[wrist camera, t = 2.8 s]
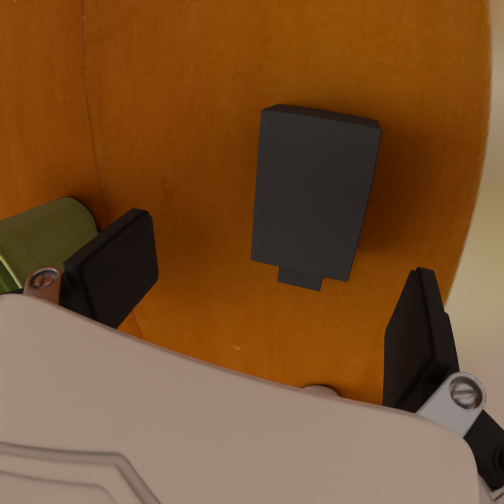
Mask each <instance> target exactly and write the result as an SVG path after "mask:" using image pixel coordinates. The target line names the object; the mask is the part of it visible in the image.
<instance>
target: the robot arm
mask: <svg viewBox="0 0 504 504" xmlns="http://www.w3.org/2000/svg"><path fill="white" fill-rule="evenodd" d="M63 267H64V270H65V271H64V272H63V273H61V271H60V270H59V268H57V267H53V266H47V267H43V268H40V269H38V270H36V271H34V272H33V273H31V274H30V275H29V277H28V278H27V280H26V282H25V286H24V288H21V289H17V290H13V291H9V292H5V293H1V294H0V504H504V430H503V429H502V428H501V427H500V426H499V425H498V424H497V423H496V422H495V421H494V420H493V419H492V418H491V417H490V416H489V415H488V414H487V413H486V412H485V411H484V410H483V408H484V406H485V403H486V392H485V389H484V387H483V385H482V383H481V382H480V381H479V380H478V379H477V378H476V377H474V376H473V375H471V374H469V373H466V372H460V370H459V364H458V358H457V352H456V348H455V342H454V337H453V333H452V328H451V324H450V319H449V316H448V314H447V313H446V312H444V308H443V304H442V299H441V295H440V291H439V288H438V284H437V280H436V276H435V273H434V271H433V270H430V269H425V268H421V267H417V269H416V270H411V271H410V273H409V276H408V278H407V281H406V283H405V286H404V288H403V291H402V293H401V296H400V298H399V301H398V303H397V305H396V308H395V310H394V312H393V315H392V317H391V319H390V321H389V324H388V326H387V328H386V331H385V337H384V383H383V402H382V406H381V405H377V404H372V403H366V402H361V401H356V400H351V399H346V398H342V397H337V396H333V395H328V394H324V393H319V392H315V391H310V390H306V389H302V388H298V387H293V386H289V385H285V384H281V383H277V382H274V381H270V380H266V379H262V378H259V377H255V376H252V375H248V374H244V373H241V372H238V371H234V370H231V369H227V368H224V367H221V366H218V365H214V364H211V363H208V362H205V361H202V360H199V359H196V358H193V357H190V356H187V355H184V354H181V353H178V352H175V351H172V350H169V349H166V348H164V347H161V346H158V345H155V344H153V343H150V342H147V341H144V340H142V339H139V338H137V337H134V336H131V335H129V334H126V333H124V332H121V331H119V330H116V329H117V328H118V327H119V325H120V324H121V323H122V322H123V321H124V319H125V318H126V317H127V316H128V315H129V313H130V312H131V311H132V310H133V309H134V307H135V306H136V305H137V304H138V303H139V302H140V300H141V299H142V298H143V297H144V296H145V294H146V293H147V292H148V291H149V290H150V289H151V287H152V286H153V285H154V284H155V283H156V281H157V279H158V275H159V272H158V265H157V257H156V249H155V240H154V231H153V222H152V217H151V216H150V215H149V213H148V212H147V211H146V210H141V209H135V208H133V209H131V210H130V211H128V212H127V213H126V214H124V215H123V216H122V217H120V218H119V219H118V220H116V221H115V222H114V223H112V224H111V225H110V226H108V227H107V228H106V229H104V230H103V231H102V232H101V233H99V234H98V235H97V236H95V237H94V238H93V239H92V240H90V241H89V242H88V243H87V244H85V245H84V246H83V247H82V248H80V249H79V250H78V251H77V252H75V253H74V254H73V255H72V256H71V257H69V258H68V259H67V260H66V261H65V262H63Z"/></svg>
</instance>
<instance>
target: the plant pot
mask: <svg viewBox="0 0 504 504" xmlns="http://www.w3.org/2000/svg"><path fill="white" fill-rule="evenodd" d="M97 235H98V232H97V228H96V223H95V220H94V218H93V217H92V215H91V214H90V212H89V211H88V210H87V209H86V208H85V206H84V205H82V204H81V203H80V202H78V201H77V200H75V199H73V198H69V197H67V198H59V199H56V200H54V201H51V202H48V203H46V204H43V205H40V206H37V207H35V208H32V209H29V210H27V211H24V212H22V213H19V214H17V215H14V216H12V217H9V218H7V219H4V220H1V221H0V294H1V293H5V292H9V291H13V290H17V289H21V288H24V286H25V282H26V280H27V278H28V277H29V275H30V274H31V273H33V272H34V271H36V270H38V269H40V268H43V267H47V266H53V267H57V268H59V270H60V271H61V273H63V272H64V271H65V270H64V267H63V262H65V261H66V260H67V259H68V258H69V257H71V256H72V255H73V254H74V253H75V252H77V251H78V250H79V249H80V248H82V247H83V246H84V245H85V244H87V243H88V242H89V241H90V240H92V239H93V238H94V237H95V236H97Z"/></svg>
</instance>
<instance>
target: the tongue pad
mask: <svg viewBox="0 0 504 504" xmlns="http://www.w3.org/2000/svg"><path fill="white" fill-rule="evenodd" d="M381 133H382V130H381V128H380V126H379V123H378V121H376V120H372V119H367V118H362V117H357V116H352V115H347V114H342V113H336V112H330V111H324V110H318V109H312V108H305V107H298V106H290V105H282V104H277V105H274V106H271V107H268V108H266V109H263V110H261V119H260V133H259V147H258V162H257V176H256V190H255V205H254V219H253V234H252V248H251V260H253V261H257V262H262V263H266V264H270V265H275V266H279V274H278V282H281V283H286V284H290V285H294V286H299V287H303V288H307V289H312V290H316V291H320V288H321V283H322V279H323V277H328V278H332V279H337V280H341V281H346V282H347V281H348V278H349V275H350V271H351V268H352V264H353V260H354V256H355V253H356V249H357V245H358V241H359V237H360V233H361V229H362V225H363V221H364V216H365V212H366V208H367V203H368V199H369V194H370V190H371V185H372V180H373V175H374V170H375V165H376V160H377V155H378V150H379V144H380V138H381Z"/></svg>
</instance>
